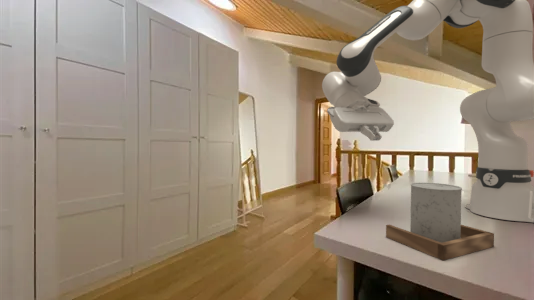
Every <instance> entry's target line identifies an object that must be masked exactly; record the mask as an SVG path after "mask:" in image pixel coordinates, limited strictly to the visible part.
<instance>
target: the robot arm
mask: <svg viewBox="0 0 534 300" xmlns="http://www.w3.org/2000/svg"><path fill="white" fill-rule="evenodd" d="M478 21H479V22H480V24H481V26H482V31H483V34H482V42H481V43H482V47H481V48H482V49H481V50H482V51H481V68H482V69H483V71H484V72H486V73H489V74H491V75H493V77H494V79H495V87H490V88H485V89H481V90H479V91H476V92H474V93H471V94H469V95H468V96H465V98H463V100H462V101H461V103H460V106H459V112H460V115H461V118H462V119H464V120H465V121H466V122H467V123H468V124H469V125H470V126H471V128H472V129H473V132H474V133H475V137H476V140H477V147H478V149H477V151H478V152H477V153H478V158H477V159H478V163H477V164H478V166H477V167H476V169H475V174H476V175H475V178H476V179H477V180H476V181H475V182H474V183H472V184H471V188H470V189H471V190H470V199H469V204H465V208H466V209H468V210H469V211H470V212H471V213H473V214H476V215H479V216H484V217H486V218H487V217H488V218H491V219H492V218H493V219H497V220H498V219H499V220H505V221H513V222H514V221H515V222H525V223H526V222H527V223H534V186H533V185H532V183H531V182H532V178H533V177H534V170H532V169H529V168H528V166H529V144H528V141H527V140H526V139H525V138H523V137H522V136H519V135H517V134H516V133H515V131H514V129H513V127H512V123H511V122H522V121H531V120H534V58H533V56H534V55H533V54H534V53H533V40H534V37H533V36H534V21H533V15H532V9H531V5H530V3H529V1H528V0H412V1H411V2H410V3H409V4H408V5H401V6H398V7H396V8H394V9H392V10H391V11H390V12H388V13H387V14H386V15H384V16H383V17H382V18H380V19H379V20H378V21H376V23H374V24H373V25H372V26H370V27H369V28H368V29H367V30H366V31H365V32H363V33H362V34H361V35H360V36H359V37H357V38H355V39H353V40H352V41H350V42H349V43H347V44H346V45H344V46H343V47H342V48H341V50H340V51H339V53H338V55H337V58H336V66H337V68H338V69H339V71H330V72H329V73H327V74H326V75H325V76H324V78H323V80H322V82H321V88H322V92H323V94H324V96H325V98H326V99H327V101H328V102H329V103H330V105H332V106H329V108H327V111H326V112H327V114H328V115H329V119H330V121H331V124H332V125H333V127H334V129H335V130H336V131H338V132H339V133H347V132H349V133H351V132H352V133H355V132H356V133H361V134H362V135H363V136H365V137H367V138H368V139H369V141H371V142H372V141H373V142H375V141H381V139H382V137H383V135H382V134H381V133H384V132H385V133H388V132H390V130H391V129H392V128H393V127H394V125H395V122H394V120H393V118H392V117H391V116H390V114H389V113H388V112H386V110H385V109H384V108H382V107H381V104H380V102H378V101H377V100H374V99H371V98H368V97H366V96H367V95H369V94H371V93H372V92H374V91H375V90H377V88H378V87H379V85H380V84H381V83H382V75H381V72H380V69H379V68H378V65H377V63H376V61H375V59H374V56H375V55H374V54H375V51H376V50H377V48H378V47H380V46H381V45H382V44H383V43H384V42H386V41H387V40H388V39H389V38H390V37H392V36H393V35H394V34H395V33H396V34H397V35H398V36H399V37H401V38H403V39H405V40H409V41H419V40H422V39H424V38H426V37H428V35H431V33H433V32H434V30H435V29H436V28H437V27H439V25H440V24H441V23H442V22H444V23H446V24H447V25H449V26H450V27H452V28H454V29H465V28H468V27H469V26H471V25H474V24H475V23H476V22H478Z"/></svg>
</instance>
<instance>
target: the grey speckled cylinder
mask: <svg viewBox="0 0 534 300" xmlns="http://www.w3.org/2000/svg"><path fill="white" fill-rule="evenodd" d="M462 190H463V188H462V187H461V186H458V185H454V184H449V183H448V184H447V183H439V182H437V183H435V182H412V183H410V227H409V228H410V231H409V232H412V233H415V234H418V235H421V236H424V237H426V238H429V239H432V240H435V241H438V242H441V243H443V242H447V241H452V240H456V239H460V234H461V225H462V224H461V223H462V222H461V221H462Z"/></svg>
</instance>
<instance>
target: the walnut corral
mask: <svg viewBox="0 0 534 300" xmlns="http://www.w3.org/2000/svg"><path fill="white" fill-rule="evenodd" d="M385 237H386V238H388V239H390V240H392V241H395V242H397V243H399V244H402V245H405V246H407V247H409V248H412V249H415V250H417V251H419V252H422V253H424V254H426V255H429V256H431V257H434V258H437V259H439V260H441V261H445V260H449V259H453V258H457V257H461V256H465V255H468V254H471V253H477V252H479V251H483V250H486V249H487V250H488V249H491V248H494V247H495V233H494V232H490V231H486V230H482V229H479V228H474V227H471V226H469V225H463V224H461V234H460V239H456V240H452V241H447V242H443V243H441V242H438V241H435V240H432V239H429V238H426V237H424V236H421V235H418V234H415V233H412V232H410V231H409V230H406V229H404V228H401V227H397V226H395V225H392V224H386V225H385Z"/></svg>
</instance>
